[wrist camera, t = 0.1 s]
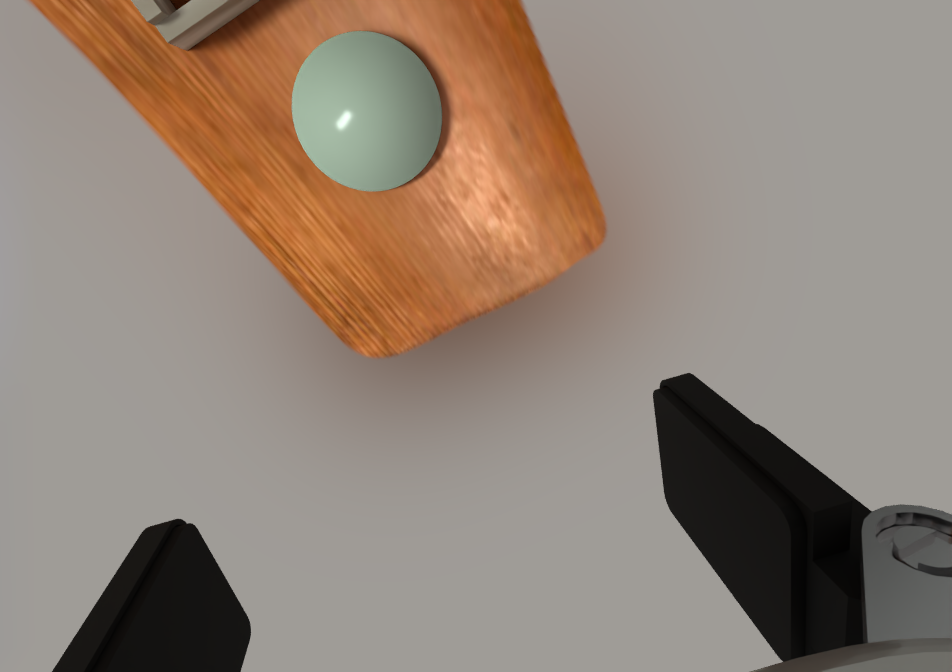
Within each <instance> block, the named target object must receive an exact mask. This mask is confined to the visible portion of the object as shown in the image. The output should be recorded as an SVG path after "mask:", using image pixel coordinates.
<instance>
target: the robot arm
mask: <svg viewBox="0 0 952 672" xmlns="http://www.w3.org/2000/svg"><path fill="white" fill-rule="evenodd" d="M653 399H654V408H655V417H656V426H657V435H658V442H659V452H660V460H661V469H662V478H663V486H664V494H665V499H666V502H667V504H668V507H669V509H670V511H671V512H672V514H673V515H674V516H675V518H676V519H677V520H678V522H679V523H680V524H681V526H682V527H683V529H684V530H685V531H686V533H687V534H688V535H689V537H690V538H691V539H692V541H693V542H694V543H695V545H696V546H697V547H698V549H699V550H700V551H701V553H702V554H703V556H704V557H705V558H706V560H707V561H708V562H709V564H710V565H711V566H712V568H713V569H714V570H715V572H716V573H717V574H718V576H719V577H720V578H721V580H722V581H723V583H724V584H725V585H726V587H727V588H728V589H729V591H730V592H731V593H732V594H733V596H734V597H735V599H736V600H737V601H738V603H739V604H740V606H741V607H742V608H743V610H744V611H745V612H746V614H747V615H748V616H749V618H750V619H751V620H752V622H753V623H754V624H755V626H756V627H757V628H758V630H759V631H760V633H761V634H762V635H763V637H764V638H765V639H766V641H767V642H768V643H769V645H770V646H771V647H772V649H773V650H774V651H775V653H776V654H777V655H778V657H779V658H780V659H781V660H782V661H783V662H782V663H778V664H775V665H772V666H768V667H765V668H761V669H758V670H754V671H751V672H952V515H951V514H948V513H946V512H944V511H940V510H936V509H932V508H927V507H923V506H914V505H893V506H885V507H882V508H880V509H877V510H875V511H870V510H869V509H868V508H866V507H865V506H864V505H862V504H861V503H860V502H859V501H857V500H856V499H855V498H854V497H852V496H851V495H850V494H849V493H847V492H846V491H845V490H843V489H842V488H841V487H840V486H838V485H837V484H836V483H835V482H833V481H832V480H831V479H829V478H828V477H827V476H826V475H824V474H823V473H822V472H820V471H819V470H818V469H817V468H815V467H814V466H813V465H811V464H810V463H809V462H808V461H806V460H805V459H804V458H803V457H801V456H800V455H799V454H797V453H796V452H795V451H794V450H792V449H791V448H790V447H788V446H787V445H786V444H784V443H783V442H782V441H781V440H779V439H778V438H777V437H776V436H774V435H773V434H772V433H771V432H769V431H768V430H767V429H765V428H764V427H762V426H760V425H759V424H755V423H753V422H752V421H751V420H750V419H748V418H747V417H746V416H745V415H743V414H742V413H741V412H740V411H738V410H737V409H736V408H735V407H733V406H732V405H731V404H730V403H728V402H727V401H726V400H724V399H723V398H722V397H721V396H719V395H718V394H717V393H716V392H714V391H713V390H712V389H710V388H709V387H708V386H707V385H705V384H704V383H703V382H702V381H700V380H699V379H698V378H697V377H695V376H694V375H693V374H691V373H687V374H683V375H680V376H676V377H673V378H669V379H666V380H662V381H661V383H660V389H657V390H655V391H654V393H653ZM250 636H251V627H250V621H249V619H248V616H247V615H246V613H245V611H244V610H243V608H242V606H241V604H240V602H239V601H238V599H237V597H236V595H235V594H234V592H233V590H232V589H231V587H230V585H229V583H228V581H227V580H226V578H225V576H224V575H223V573H222V571H221V569H220V568H219V566H218V564H217V562H216V561H215V559H214V557H213V555H212V554H211V552H210V550H209V548H208V546H207V545H206V543H205V541H204V540H203V538H202V536H201V534H200V533H199V531H198V529H197V528H196V526H195V525H193V524H191V523H189V524H187V523H186V522H185V521H183V520H182V519H175V520H172V521H168V522H164V523H161V524H157V525H154V526H150V527H148V528H146V529H145V530H144V531H143V532H142V534H141V535H140V536H139V538H138V540H137V541H136V543H135V544H134V546H133V547H132V549H131V550H130V552H129V553H128V555H127V557H126V558H125V560H124V561H123V563H122V564H121V566H120V568H119V569H118V570H117V572H116V574H115V575H114V577H113V578H112V580H111V581H110V583H109V584H108V586H107V587H106V589H105V591H104V592H103V594H102V595H101V597H100V598H99V600H98V602H97V603H96V604H95V606H94V608H93V609H92V611H91V612H90V614H89V615H88V617H87V618H86V620H85V622H84V623H83V625H82V626H81V628H80V629H79V631H78V632H77V634H76V635H75V637H74V638H73V640H72V642H71V643H70V645H69V646H68V648H67V649H66V651H65V652H64V654H63V656H62V657H61V659H60V660H59V662H58V663H57V665H56V666H55V668H54V669H53V671H52V672H241V668H242V665H243V661H244V658H245V654H246V651H247V647H248V644H249V641H250Z"/></svg>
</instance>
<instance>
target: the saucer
mask: <svg viewBox="0 0 952 672" xmlns="http://www.w3.org/2000/svg"><path fill="white" fill-rule="evenodd" d="M292 115H293V122H294V126H295V130H296V133H297V136H298V138H299V141H300V143H301V145H302V147H303V149H304V150H305V152H306V153H307V155H308V156H309V158H310V159H311V160H312V162H313V163H314V164H315V165H316V166H317V167H318V168H319V169H320V170H321V171H322V172H323V173H324V174H326V175H327V176H329V177H330V178H331V179H333V180H335V181H336V182H338V183H340V184H342V185H345V186H347V187H350V188H353V189H357V190H363V191H383V190H389V189H392V188H396V187H398V186H400V185H403V184H405V183H406V182H408V181H410V180H411V179H413V178H414V177H415V176H416V175H418V174H419V173H420V172H421V171H422V170H423V168H424V167H425V166H426V165H427V163H428V162H429V161H430V159H431V157H432V156H433V154H434V152H435V150H436V147H437V144H438V142H439V138H440V134H441V126H442V108H441V101H440V97H439V93H438V90H437V87H436V85H435V82H434V80H433V78H432V76H431V74H430V72H429V71H428V69H427V68H426V66H425V65H424V63H423V62H422V61H421V60H420V59H419V58H418V56H417V55H416V54H415V53H413V52H412V51H411V50H410V49H409V48H408V47H406V46H405V45H403V44H402V43H400V42H399V41H397V40H395V39H393V38H391V37H388V36H385V35H383V34H380V33H374V32H369V31H354V32H347V33H343V34H339V35H337V36H335V37H332V38H330V39H328V40H327V41H325V42H323V43H322V44H320V45H319V46H318V47H317V48H316V49H315V50H313V52H312V53H311V54H310V55H309V56H308V57H307V58H306V60H305V62H304V63H303V65H302V66H301V68H300V70H299V73H298V75H297V77H296V81H295V84H294V88H293V94H292Z"/></svg>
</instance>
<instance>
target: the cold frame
mask: <svg viewBox="0 0 952 672" xmlns="http://www.w3.org/2000/svg"><path fill="white" fill-rule="evenodd" d="M131 1H132V2H133V3H134V5H135V6H136V7H137V9H138V10H139V11H140V13H141V14H142V15H143V17H144V18H145V19H146V21H147V22H149V23H151V24H153V25H155V26H156V28H157V29H158V30H159V32H160V33H161V34H162V36H163V37H164V38H165V40H166V41H167V42H168V43H170V44H172V45H174V46H177V47H179V48H182V49H184V50H186V51H187V50H189V49H190V48H192V47H193V46H194V45H196V44H197V43H199V42H200V41H202V40H203V39H205V38H206V37H208V36H209V35H210V34H212V33H213V32H215V31H216V30H218V29H219V28H221V27H222V26H223V25H225V24H226V23H228V22H229V21H231V20H232V19H234V18H235V17H236V16H238V15H239V14H241V13H242V12H244V11H245V10H247V9H248V8H249V7H251V6H252V5H254V4H255V3H257V2H258V1H260V0H191V1H189V2H188V3H186V4H185V5H184V6H182V7H181V8H179V9H178V10H176V8H175V7H174V6H173V4H172V3H171V1H170V0H131Z"/></svg>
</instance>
